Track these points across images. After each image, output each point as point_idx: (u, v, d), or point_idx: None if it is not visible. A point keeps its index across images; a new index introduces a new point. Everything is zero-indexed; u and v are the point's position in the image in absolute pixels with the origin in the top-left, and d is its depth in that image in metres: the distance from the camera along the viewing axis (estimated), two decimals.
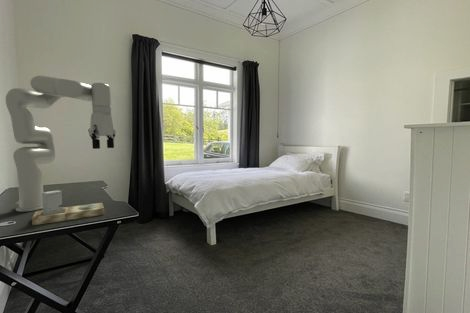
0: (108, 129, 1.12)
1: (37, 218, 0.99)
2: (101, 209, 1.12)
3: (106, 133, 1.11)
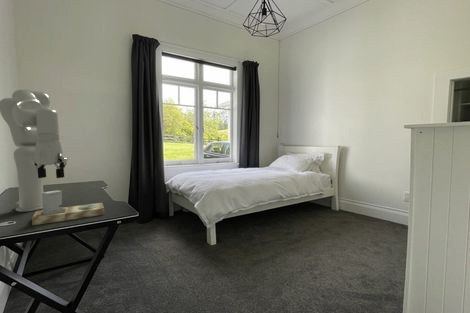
0: None
1: (37, 218, 0.99)
2: (101, 209, 1.12)
3: None
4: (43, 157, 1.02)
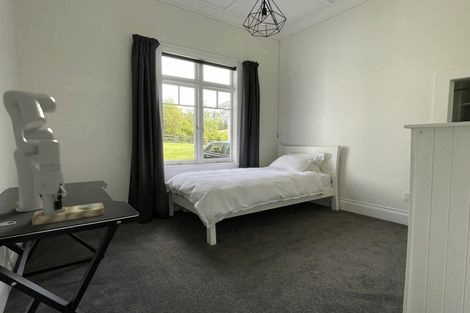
0: None
1: (37, 218, 0.99)
2: (101, 209, 1.12)
3: None
4: (45, 187, 1.03)
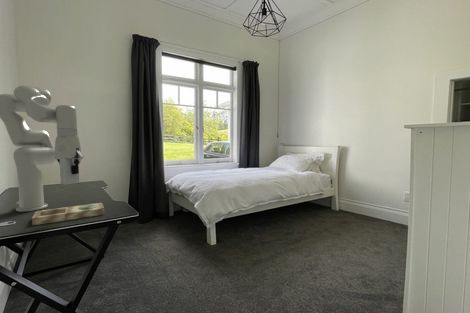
0: None
1: (37, 218, 0.99)
2: (101, 209, 1.12)
3: None
4: (62, 151, 1.06)
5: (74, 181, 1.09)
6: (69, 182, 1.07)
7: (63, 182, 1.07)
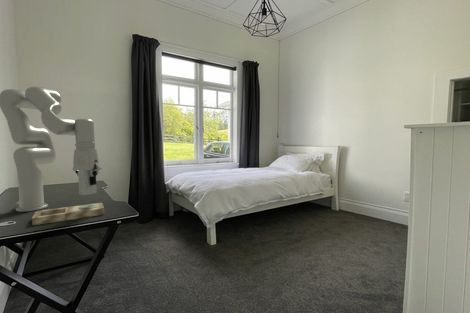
0: None
1: (37, 218, 0.99)
2: (101, 209, 1.12)
3: None
4: (81, 163, 1.10)
5: (92, 191, 1.13)
6: (87, 193, 1.11)
7: (82, 193, 1.11)
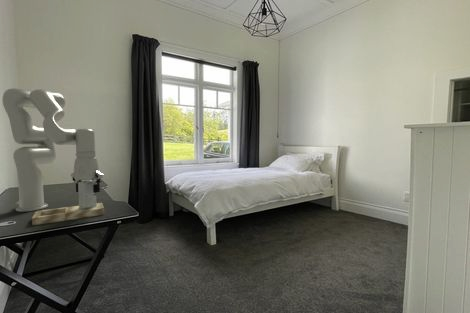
0: None
1: (37, 218, 0.99)
2: (101, 209, 1.12)
3: None
4: (82, 173, 1.10)
5: (92, 204, 1.14)
6: (88, 206, 1.12)
7: (82, 206, 1.11)
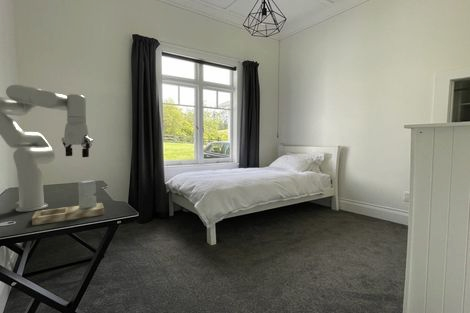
0: None
1: (37, 218, 0.99)
2: (101, 209, 1.12)
3: None
4: (71, 137, 1.14)
5: (92, 204, 1.14)
6: (88, 206, 1.12)
7: (82, 206, 1.11)
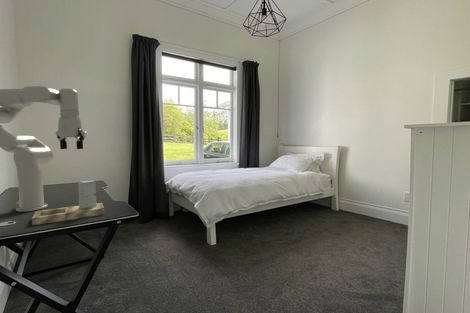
0: None
1: (37, 218, 0.99)
2: (101, 209, 1.12)
3: None
4: (65, 130, 1.18)
5: (92, 204, 1.14)
6: (88, 206, 1.12)
7: (82, 206, 1.11)
